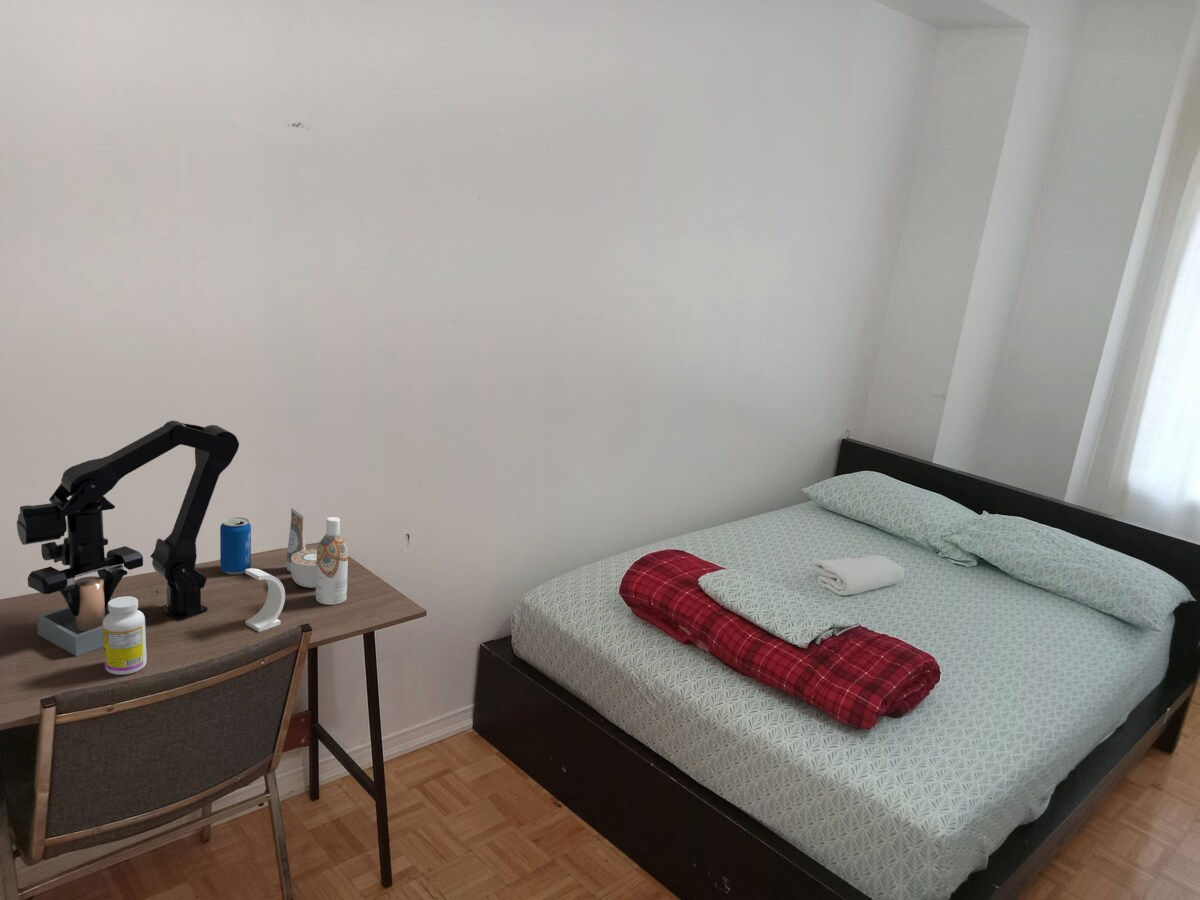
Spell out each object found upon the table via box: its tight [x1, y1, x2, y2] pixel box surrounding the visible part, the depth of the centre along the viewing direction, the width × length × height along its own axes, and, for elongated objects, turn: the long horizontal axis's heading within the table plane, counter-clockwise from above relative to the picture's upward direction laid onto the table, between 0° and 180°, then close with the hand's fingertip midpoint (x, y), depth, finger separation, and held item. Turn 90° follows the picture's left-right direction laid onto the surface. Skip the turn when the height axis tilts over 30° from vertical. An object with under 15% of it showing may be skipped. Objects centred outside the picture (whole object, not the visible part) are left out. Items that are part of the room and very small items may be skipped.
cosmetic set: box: [285, 507, 349, 606], centre depth 197 cm, size 25×9×19 cm, turn 42°
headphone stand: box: [244, 568, 286, 633], centre depth 177 cm, size 5×6×12 cm
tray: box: [36, 598, 112, 657], centre depth 167 cm, size 13×13×4 cm
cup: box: [74, 576, 105, 631], centre depth 166 cm, size 5×5×9 cm
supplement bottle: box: [103, 595, 148, 676], centre depth 156 cm, size 7×7×13 cm
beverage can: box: [219, 516, 252, 575], centre depth 200 cm, size 6×6×12 cm
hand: (89, 610), depth 166 cm, fingers closed on cup, 5 cm apart
